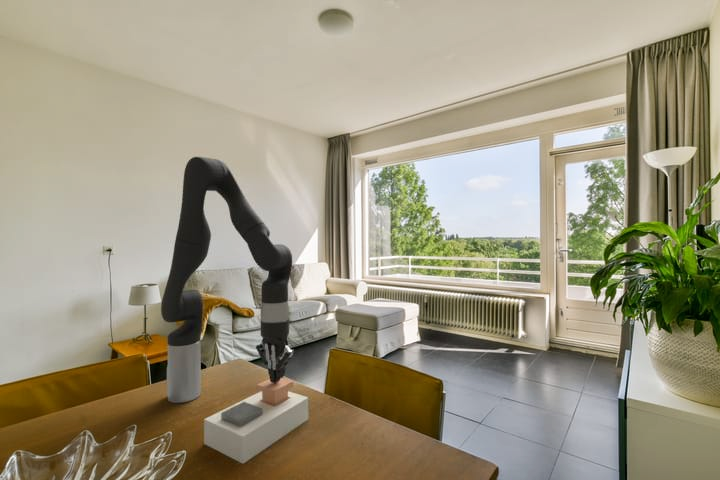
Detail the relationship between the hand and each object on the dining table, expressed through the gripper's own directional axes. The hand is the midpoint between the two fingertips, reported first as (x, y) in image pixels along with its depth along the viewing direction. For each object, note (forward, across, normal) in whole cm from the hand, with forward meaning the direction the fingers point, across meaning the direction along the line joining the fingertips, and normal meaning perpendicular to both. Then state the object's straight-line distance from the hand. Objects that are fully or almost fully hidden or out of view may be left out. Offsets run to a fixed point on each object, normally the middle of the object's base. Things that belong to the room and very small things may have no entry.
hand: (275, 381), depth 94 cm
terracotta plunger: (+7, 0, 0) cm, 7 cm away
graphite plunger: (+10, 0, -11) cm, 15 cm away
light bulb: (+11, -13, +14) cm, 22 cm away
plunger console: (+11, 0, -5) cm, 12 cm away
